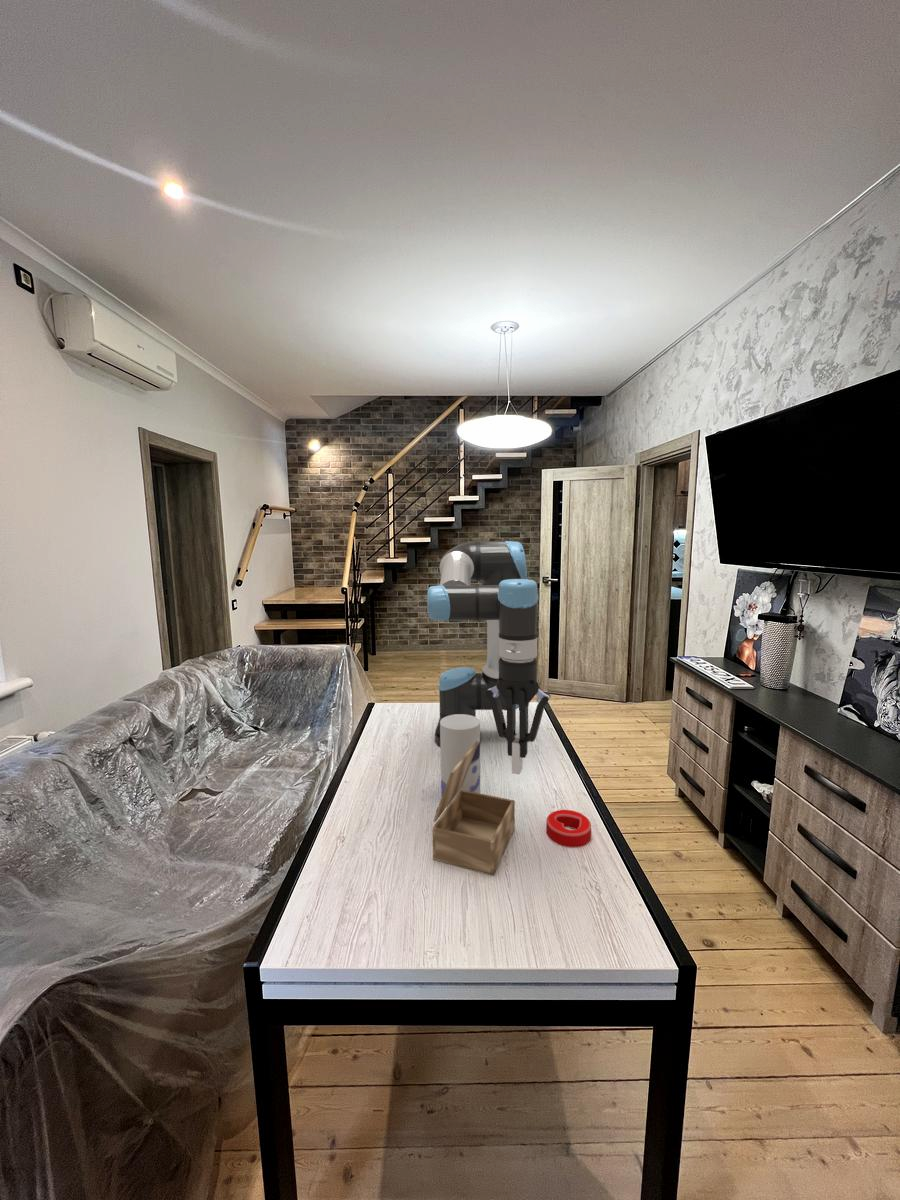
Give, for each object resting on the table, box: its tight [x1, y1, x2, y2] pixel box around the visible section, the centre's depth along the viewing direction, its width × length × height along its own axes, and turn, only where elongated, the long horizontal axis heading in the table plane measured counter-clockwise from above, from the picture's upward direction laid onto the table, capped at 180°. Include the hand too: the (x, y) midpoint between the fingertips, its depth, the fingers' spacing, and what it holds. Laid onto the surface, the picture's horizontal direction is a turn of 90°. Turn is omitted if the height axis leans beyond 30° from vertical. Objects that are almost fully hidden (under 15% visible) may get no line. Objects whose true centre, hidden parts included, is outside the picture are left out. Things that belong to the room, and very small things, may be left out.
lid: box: [432, 741, 479, 823], centre depth 104 cm, size 15×12×1 cm
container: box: [439, 714, 481, 805], centre depth 122 cm, size 10×10×20 cm
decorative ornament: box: [545, 809, 592, 848], centre depth 107 cm, size 10×10×3 cm
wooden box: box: [431, 790, 516, 877], centre depth 104 cm, size 16×13×7 cm
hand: (517, 770), depth 98 cm, fingers closed
